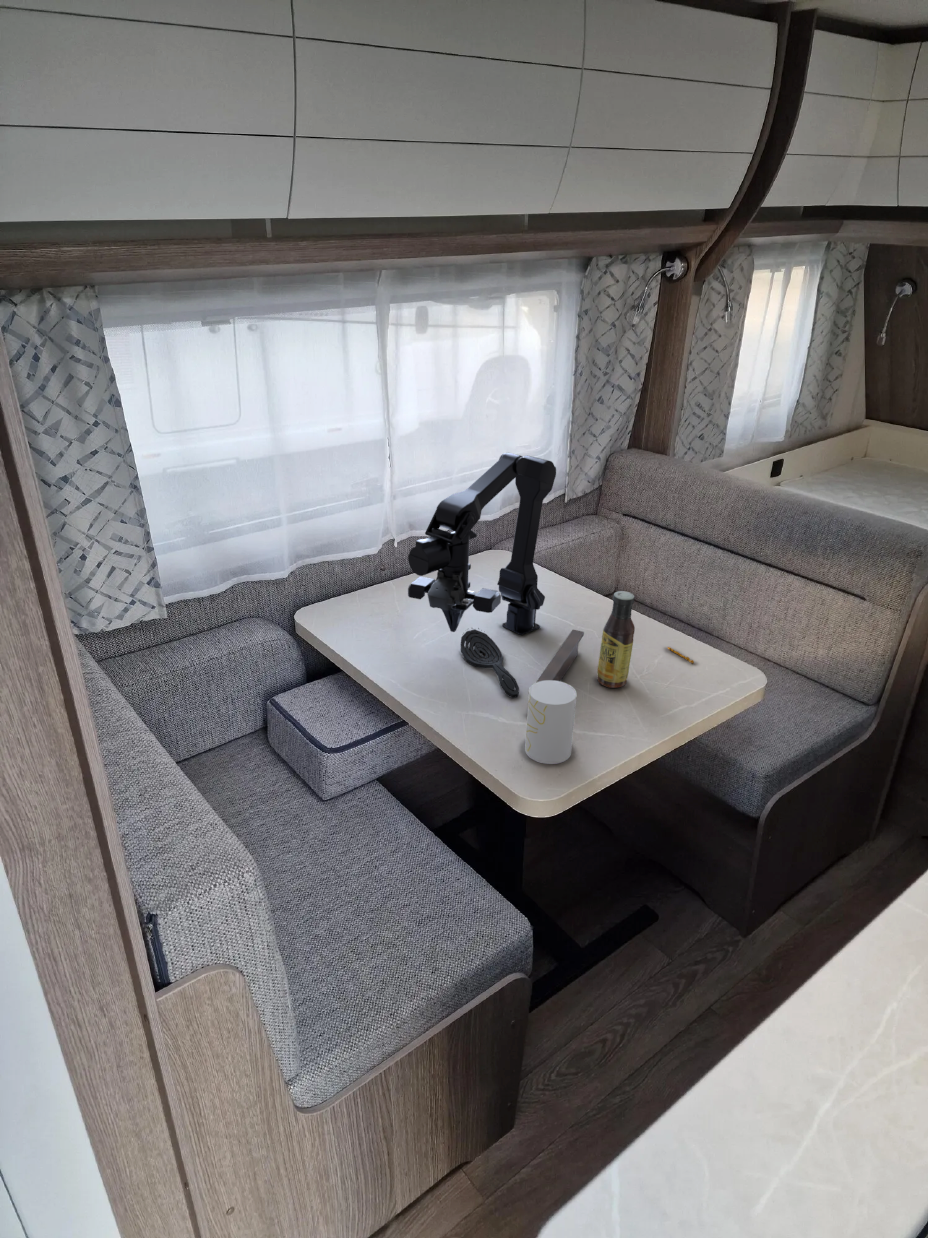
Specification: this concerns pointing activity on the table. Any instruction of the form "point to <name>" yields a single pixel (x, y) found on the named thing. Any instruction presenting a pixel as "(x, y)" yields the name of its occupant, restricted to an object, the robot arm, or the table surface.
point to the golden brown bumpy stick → (680, 655)
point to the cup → (550, 721)
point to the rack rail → (562, 658)
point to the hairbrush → (487, 658)
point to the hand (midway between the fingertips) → (453, 631)
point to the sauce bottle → (617, 642)
